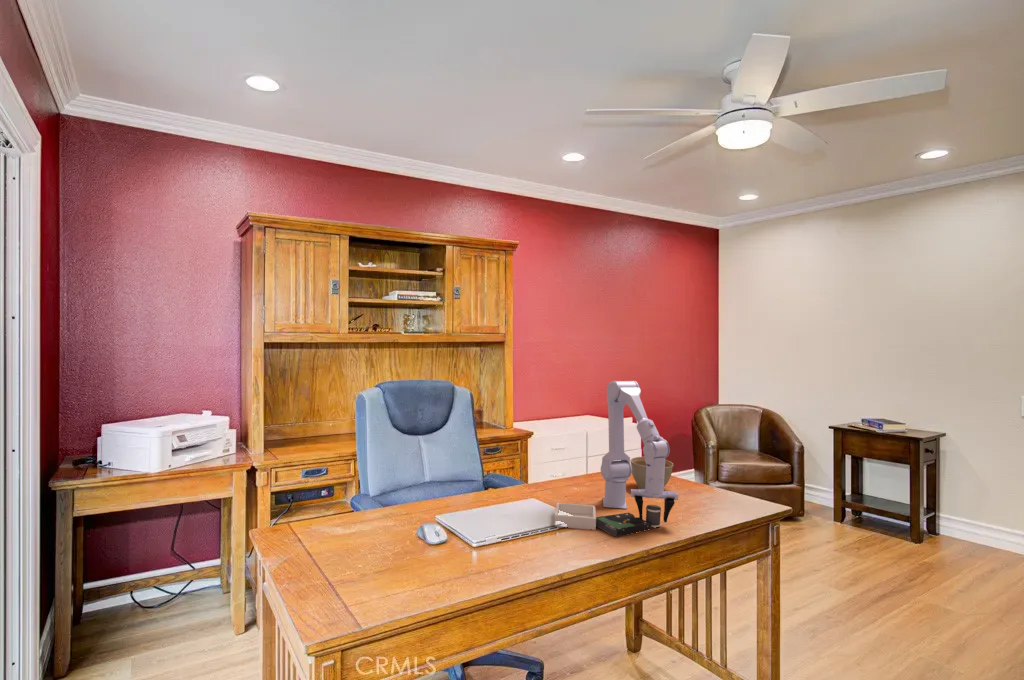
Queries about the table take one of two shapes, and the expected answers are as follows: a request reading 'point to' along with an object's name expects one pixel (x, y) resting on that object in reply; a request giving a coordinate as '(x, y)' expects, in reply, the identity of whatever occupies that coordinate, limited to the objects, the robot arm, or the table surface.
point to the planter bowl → (640, 471)
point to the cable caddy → (577, 515)
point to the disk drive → (622, 524)
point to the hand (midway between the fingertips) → (652, 520)
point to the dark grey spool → (653, 515)
